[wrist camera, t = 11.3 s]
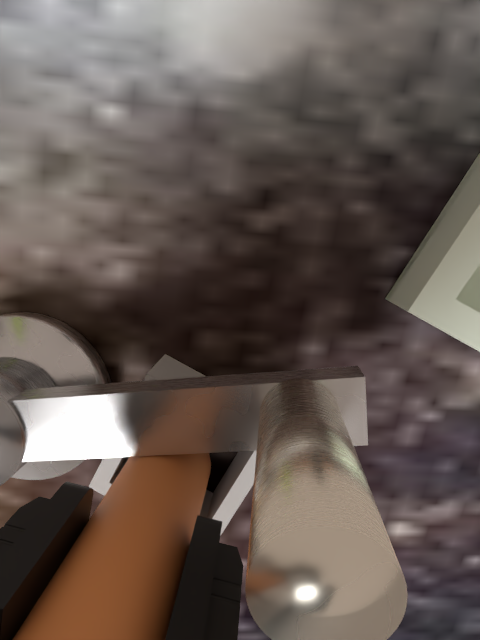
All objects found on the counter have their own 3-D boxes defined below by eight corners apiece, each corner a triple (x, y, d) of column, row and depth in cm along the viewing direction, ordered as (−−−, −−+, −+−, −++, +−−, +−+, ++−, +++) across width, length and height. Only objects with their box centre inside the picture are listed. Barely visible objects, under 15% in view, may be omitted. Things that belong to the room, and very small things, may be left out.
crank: (-21, 453, 16) (-338, 684, 8) (-46, 360, 15) (-430, 507, 7) (353, 434, 14) (462, 701, 6) (348, 328, 13) (467, 470, 5)
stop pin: (190, 510, 15) (-14, 1214, 4) (121, 476, 15) (-270, 1106, 4) (224, 450, 14) (87, 1099, 3) (152, 414, 14) (-216, 967, 3)
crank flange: (317, 620, 17) (320, 643, 16) (-64, 418, 17) (-84, 429, 16) (405, 507, 16) (413, 525, 15) (-13, 281, 15) (-32, 283, 14)
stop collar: (218, 509, 17) (210, 551, 14) (113, 453, 17) (88, 487, 14) (277, 415, 16) (278, 444, 13) (165, 353, 15) (146, 373, 13)
